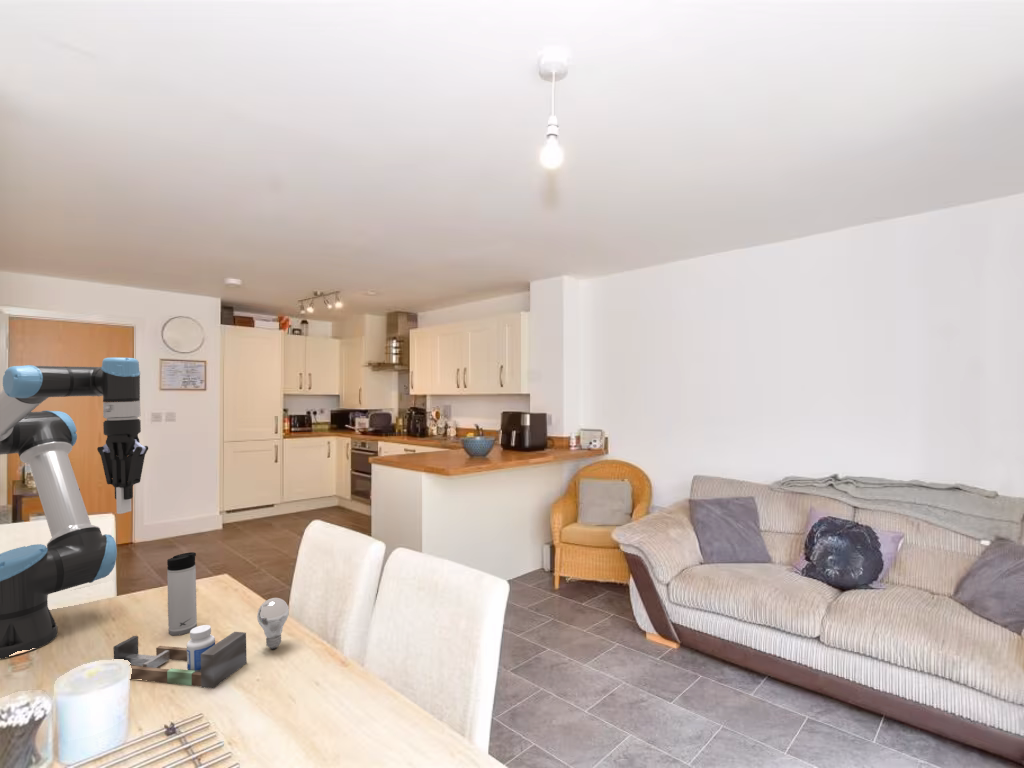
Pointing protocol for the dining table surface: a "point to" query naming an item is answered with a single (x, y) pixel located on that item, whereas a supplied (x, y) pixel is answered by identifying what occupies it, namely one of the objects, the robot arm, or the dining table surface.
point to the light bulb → (273, 620)
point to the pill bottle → (198, 646)
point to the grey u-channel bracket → (130, 653)
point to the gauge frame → (213, 664)
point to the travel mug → (181, 594)
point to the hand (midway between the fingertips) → (124, 512)
